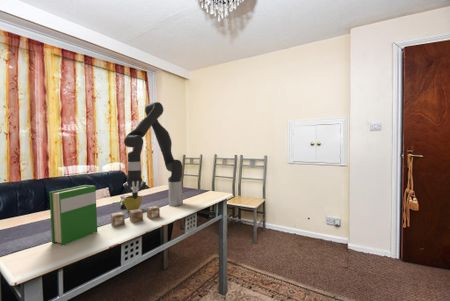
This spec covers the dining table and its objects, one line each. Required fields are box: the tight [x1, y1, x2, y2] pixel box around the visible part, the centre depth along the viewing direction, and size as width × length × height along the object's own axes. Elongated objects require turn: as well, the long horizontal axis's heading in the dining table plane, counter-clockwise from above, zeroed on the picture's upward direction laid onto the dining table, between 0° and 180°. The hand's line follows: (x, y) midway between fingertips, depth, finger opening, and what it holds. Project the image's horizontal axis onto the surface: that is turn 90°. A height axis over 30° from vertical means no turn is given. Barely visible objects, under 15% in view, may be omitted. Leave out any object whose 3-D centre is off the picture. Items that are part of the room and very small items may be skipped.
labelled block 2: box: [146, 205, 161, 220], centre depth 139 cm, size 6×6×6 cm
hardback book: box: [48, 184, 98, 246], centre depth 111 cm, size 18×7×24 cm, turn 159°
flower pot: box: [123, 195, 143, 212], centre depth 156 cm, size 9×9×9 cm
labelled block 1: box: [110, 211, 126, 228], centre depth 128 cm, size 6×6×6 cm
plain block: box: [129, 208, 144, 224], centre depth 134 cm, size 6×6×6 cm
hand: (135, 198), depth 133 cm, fingers closed
